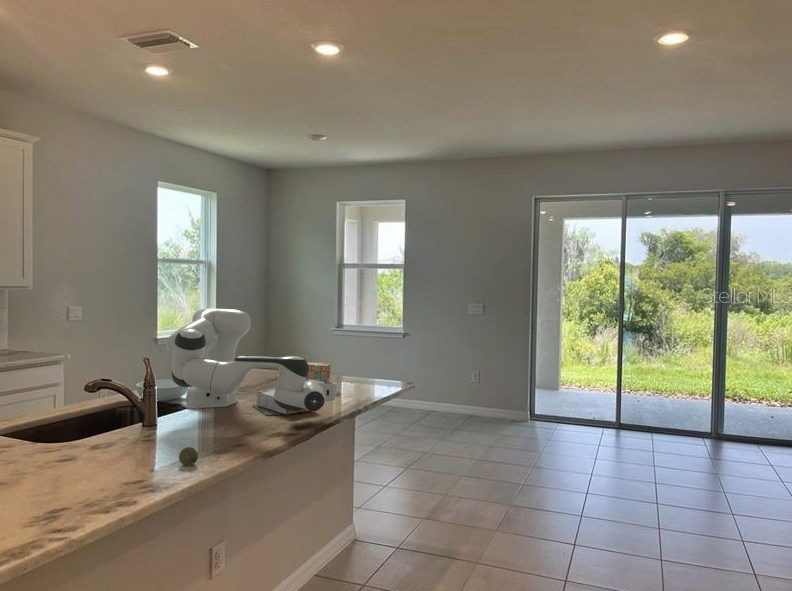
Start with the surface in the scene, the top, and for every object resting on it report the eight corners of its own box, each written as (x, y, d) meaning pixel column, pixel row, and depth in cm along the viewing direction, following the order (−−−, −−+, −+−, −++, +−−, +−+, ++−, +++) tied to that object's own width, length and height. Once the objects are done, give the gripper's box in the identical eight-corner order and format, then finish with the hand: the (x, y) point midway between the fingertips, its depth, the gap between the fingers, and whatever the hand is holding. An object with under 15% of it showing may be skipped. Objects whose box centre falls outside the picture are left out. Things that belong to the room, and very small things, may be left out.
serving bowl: (188, 393, 261) (188, 377, 261) (189, 403, 241) (190, 386, 241) (136, 395, 253) (137, 379, 253) (134, 406, 234) (134, 389, 234)
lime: (200, 464, 166) (200, 447, 166) (184, 468, 163) (184, 450, 163) (192, 461, 169) (192, 443, 169) (176, 464, 166) (176, 447, 166)
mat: (266, 416, 224) (266, 414, 224) (252, 406, 240) (252, 405, 240) (315, 411, 235) (315, 409, 235) (298, 402, 250) (298, 400, 250)
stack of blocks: (282, 389, 277) (282, 363, 277) (286, 386, 283) (287, 361, 283) (326, 391, 275) (327, 365, 274) (329, 389, 281) (330, 363, 280)
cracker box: (315, 411, 234) (284, 401, 248) (315, 396, 234) (285, 386, 248) (285, 416, 224) (255, 405, 238) (286, 400, 224) (256, 390, 238)
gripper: (283, 401, 216) (282, 393, 229) (338, 400, 219) (335, 392, 233) (283, 383, 215) (283, 377, 229) (339, 383, 219) (335, 376, 233)
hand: (310, 385), depth 231 cm, fingers open, 8 cm apart
